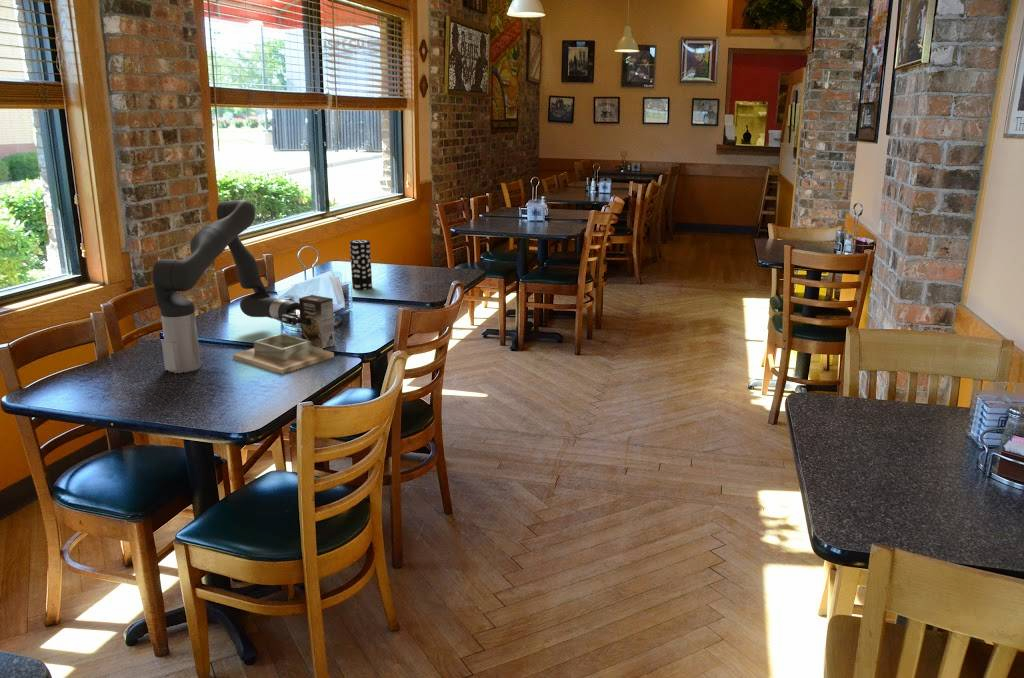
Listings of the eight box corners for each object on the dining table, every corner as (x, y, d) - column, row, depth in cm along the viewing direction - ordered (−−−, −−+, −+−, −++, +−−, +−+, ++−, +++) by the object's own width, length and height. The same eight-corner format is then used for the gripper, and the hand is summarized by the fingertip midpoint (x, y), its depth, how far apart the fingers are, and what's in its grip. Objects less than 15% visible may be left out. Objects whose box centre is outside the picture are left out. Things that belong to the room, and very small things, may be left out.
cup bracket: (282, 374, 234) (280, 356, 232) (233, 358, 247) (231, 342, 245) (334, 357, 249) (332, 340, 247) (284, 343, 262) (283, 327, 261)
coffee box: (301, 346, 259) (297, 298, 255) (314, 340, 265) (311, 294, 260) (322, 350, 255) (319, 301, 251) (335, 345, 261) (333, 297, 256)
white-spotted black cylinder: (350, 286, 339) (347, 240, 333) (369, 284, 343) (366, 239, 337) (355, 290, 332) (352, 243, 326) (374, 289, 335) (372, 242, 329)
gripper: (267, 304, 259) (300, 313, 250) (302, 296, 270) (335, 304, 261) (269, 326, 262) (302, 335, 252) (304, 317, 273) (336, 325, 263)
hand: (319, 319), depth 257 cm, fingers closed on coffee box, 7 cm apart
